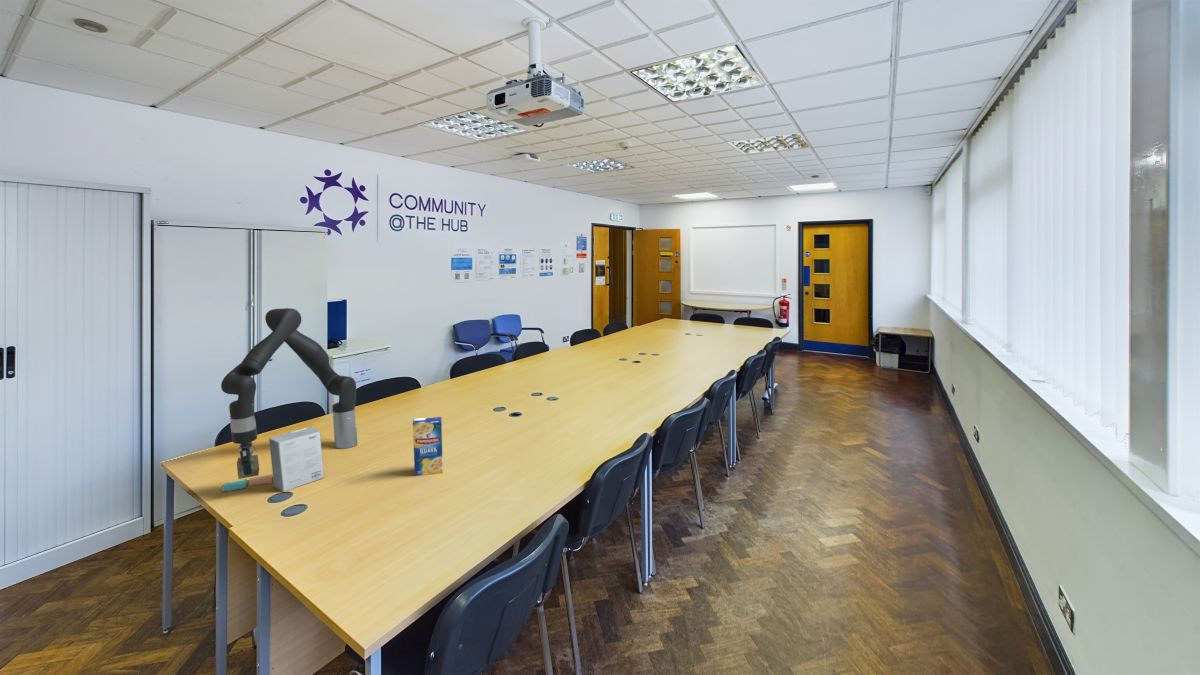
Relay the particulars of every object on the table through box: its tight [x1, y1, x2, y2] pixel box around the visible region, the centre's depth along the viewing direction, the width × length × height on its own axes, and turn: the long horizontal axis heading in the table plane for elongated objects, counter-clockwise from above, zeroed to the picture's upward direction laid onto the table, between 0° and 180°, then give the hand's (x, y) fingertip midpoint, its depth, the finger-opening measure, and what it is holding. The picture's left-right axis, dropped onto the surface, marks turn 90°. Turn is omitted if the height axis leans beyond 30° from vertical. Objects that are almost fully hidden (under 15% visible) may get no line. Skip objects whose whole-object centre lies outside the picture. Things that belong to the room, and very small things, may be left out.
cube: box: [236, 454, 260, 480], centre depth 183 cm, size 6×6×6 cm
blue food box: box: [412, 416, 444, 477], centre depth 203 cm, size 7×11×22 cm, turn 107°
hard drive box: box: [268, 426, 325, 492], centre depth 191 cm, size 16×8×20 cm, turn 145°
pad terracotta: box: [248, 474, 272, 487], centre depth 193 cm, size 7×7×1 cm
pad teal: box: [221, 479, 248, 493], centre depth 188 cm, size 7×7×1 cm
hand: (248, 470), depth 184 cm, fingers closed on cube, 6 cm apart
